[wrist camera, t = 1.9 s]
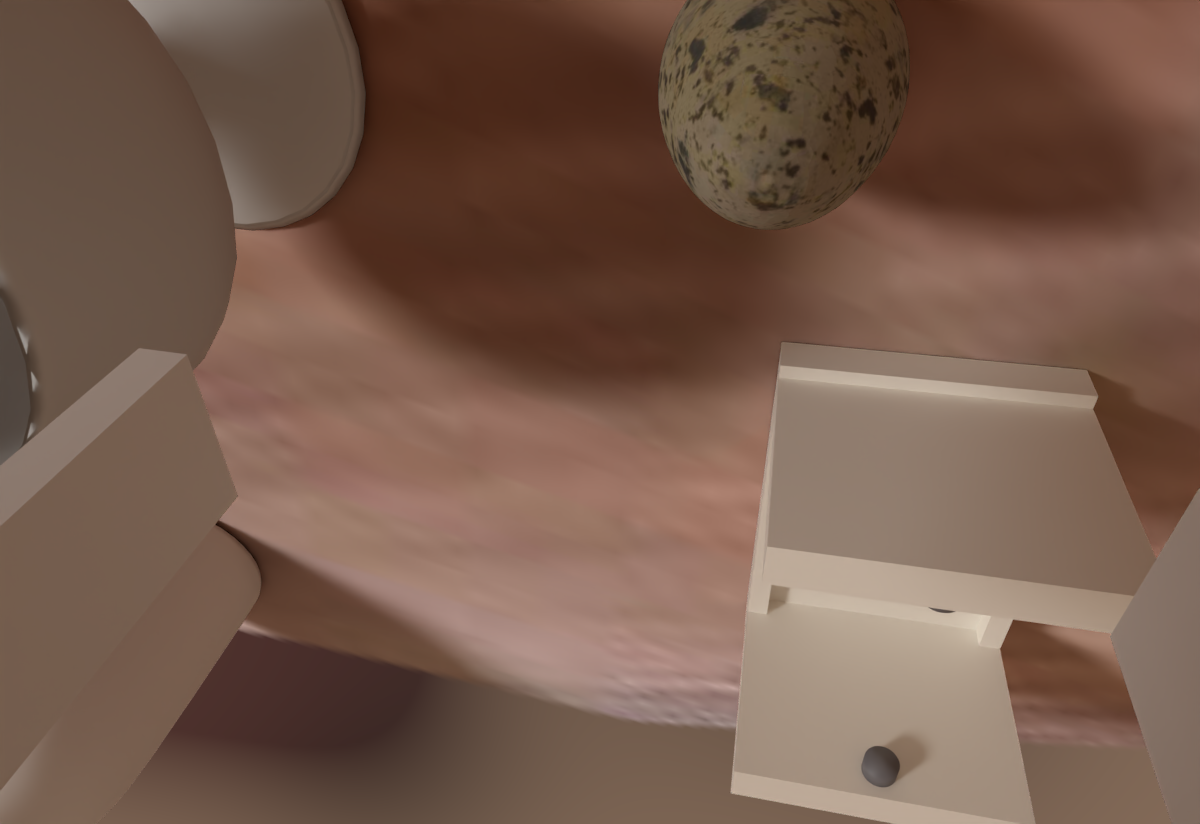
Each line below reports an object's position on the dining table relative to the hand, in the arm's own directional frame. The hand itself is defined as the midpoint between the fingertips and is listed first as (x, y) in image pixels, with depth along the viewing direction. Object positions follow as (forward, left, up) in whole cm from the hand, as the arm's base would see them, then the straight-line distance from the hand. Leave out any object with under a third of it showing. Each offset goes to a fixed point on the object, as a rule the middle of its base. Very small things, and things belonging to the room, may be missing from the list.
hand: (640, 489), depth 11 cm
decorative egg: (-2, +1, -18) cm, 18 cm away
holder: (+15, +7, -17) cm, 24 cm away
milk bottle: (+25, -27, -18) cm, 41 cm away
